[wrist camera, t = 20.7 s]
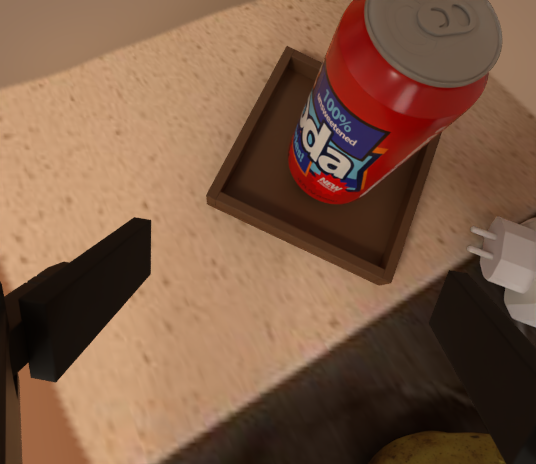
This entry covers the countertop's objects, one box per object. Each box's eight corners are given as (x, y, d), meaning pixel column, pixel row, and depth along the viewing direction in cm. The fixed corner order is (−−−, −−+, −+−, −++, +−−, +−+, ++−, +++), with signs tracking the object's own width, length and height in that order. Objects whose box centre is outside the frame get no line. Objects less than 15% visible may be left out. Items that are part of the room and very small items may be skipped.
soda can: (385, 196, 29) (546, 81, 15) (301, 218, 28) (389, 112, 13) (355, 117, 31) (476, -58, 16) (274, 132, 29) (327, -45, 15)
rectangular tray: (206, 204, 28) (205, 195, 26) (282, 62, 32) (286, 45, 30) (379, 285, 28) (391, 283, 26) (431, 135, 32) (445, 122, 30)
